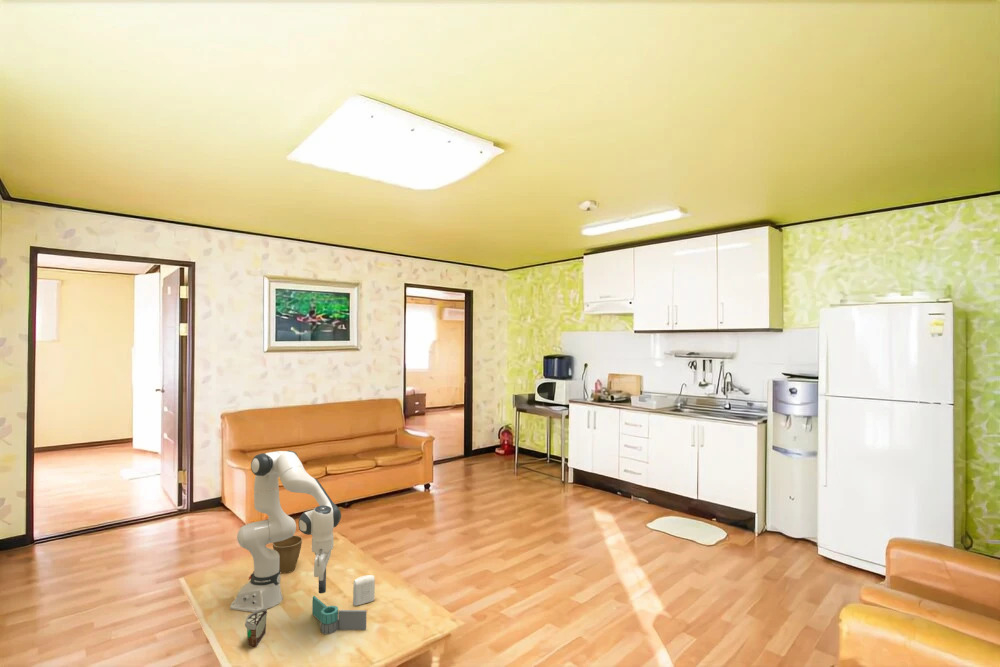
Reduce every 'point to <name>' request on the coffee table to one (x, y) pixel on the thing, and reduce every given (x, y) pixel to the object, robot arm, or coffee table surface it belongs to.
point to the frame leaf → (346, 621)
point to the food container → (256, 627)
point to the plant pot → (288, 553)
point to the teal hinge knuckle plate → (324, 611)
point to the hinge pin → (322, 584)
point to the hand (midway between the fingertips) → (322, 577)
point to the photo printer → (363, 590)
